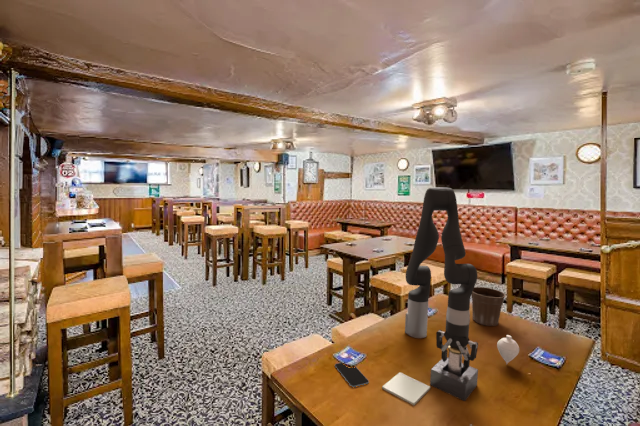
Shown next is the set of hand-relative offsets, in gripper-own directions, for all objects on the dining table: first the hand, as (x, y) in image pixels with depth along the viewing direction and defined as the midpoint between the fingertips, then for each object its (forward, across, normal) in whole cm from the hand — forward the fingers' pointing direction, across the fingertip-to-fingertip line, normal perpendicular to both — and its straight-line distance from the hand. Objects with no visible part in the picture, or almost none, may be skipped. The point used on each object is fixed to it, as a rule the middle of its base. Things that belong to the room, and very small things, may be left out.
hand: (454, 364), depth 113 cm
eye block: (+8, 0, 0) cm, 8 cm away
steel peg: (+8, 0, 0) cm, 8 cm away
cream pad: (+8, -11, -14) cm, 19 cm away
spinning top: (+8, +10, +29) cm, 32 cm away
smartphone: (+8, -30, -21) cm, 38 cm away
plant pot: (+8, -9, +67) cm, 68 cm away
